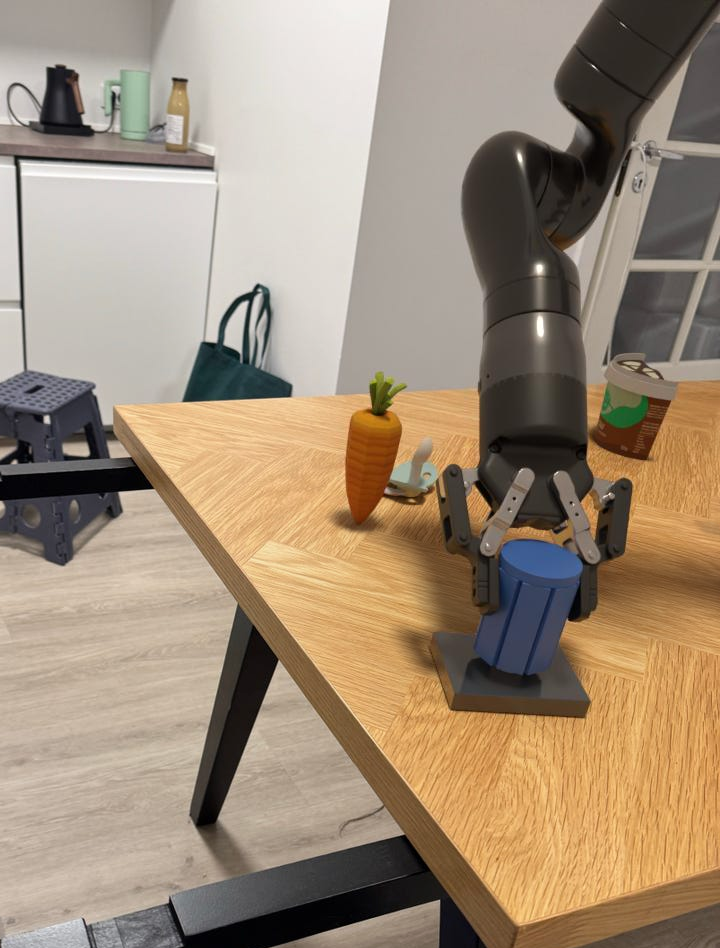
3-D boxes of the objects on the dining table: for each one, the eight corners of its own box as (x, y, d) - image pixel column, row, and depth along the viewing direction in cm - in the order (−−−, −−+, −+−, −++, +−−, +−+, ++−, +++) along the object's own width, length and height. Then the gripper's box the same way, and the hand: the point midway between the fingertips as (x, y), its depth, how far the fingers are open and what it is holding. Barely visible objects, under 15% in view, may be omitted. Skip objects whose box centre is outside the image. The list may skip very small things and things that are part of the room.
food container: (573, 423, 118) (596, 347, 112) (619, 428, 118) (644, 352, 113) (600, 459, 108) (627, 378, 102) (650, 464, 108) (680, 383, 102)
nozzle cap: (515, 625, 69) (543, 533, 65) (566, 665, 65) (600, 570, 61) (458, 638, 67) (484, 544, 62) (508, 681, 63) (539, 584, 58)
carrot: (341, 508, 90) (365, 360, 82) (388, 519, 89) (418, 370, 81) (327, 527, 86) (351, 374, 78) (376, 539, 85) (406, 385, 77)
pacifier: (365, 495, 94) (419, 508, 92) (373, 438, 90) (430, 450, 88) (387, 472, 99) (439, 484, 97) (396, 418, 96) (450, 429, 94)
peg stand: (551, 654, 71) (588, 549, 66) (585, 717, 64) (628, 607, 59) (429, 646, 70) (455, 540, 65) (450, 709, 64) (481, 597, 59)
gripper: (451, 360, 61) (450, 597, 58) (653, 377, 62) (662, 612, 59) (421, 408, 68) (418, 621, 65) (602, 423, 69) (608, 634, 66)
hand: (534, 616), depth 62 cm, fingers closed on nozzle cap, 6 cm apart
